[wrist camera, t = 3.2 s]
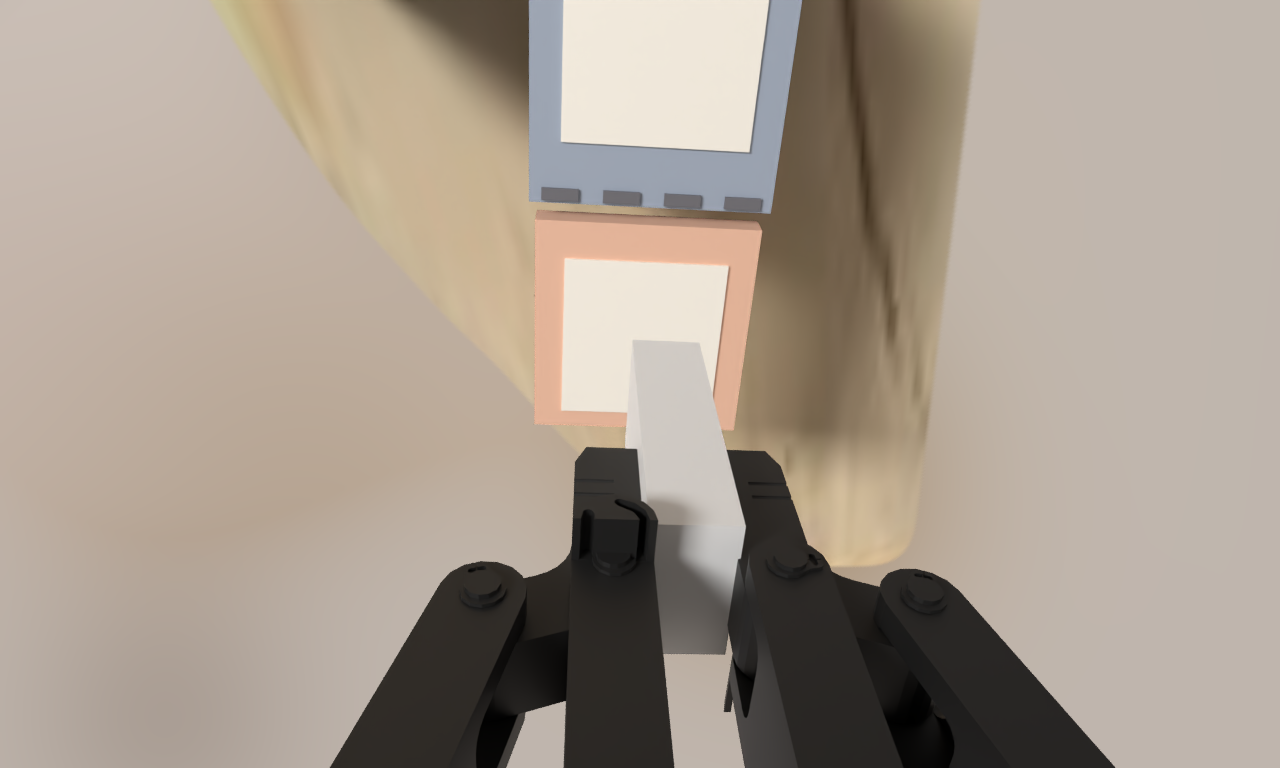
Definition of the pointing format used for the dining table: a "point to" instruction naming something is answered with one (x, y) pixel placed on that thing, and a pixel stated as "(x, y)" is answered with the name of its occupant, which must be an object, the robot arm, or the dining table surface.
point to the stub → (636, 306)
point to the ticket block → (659, 101)
